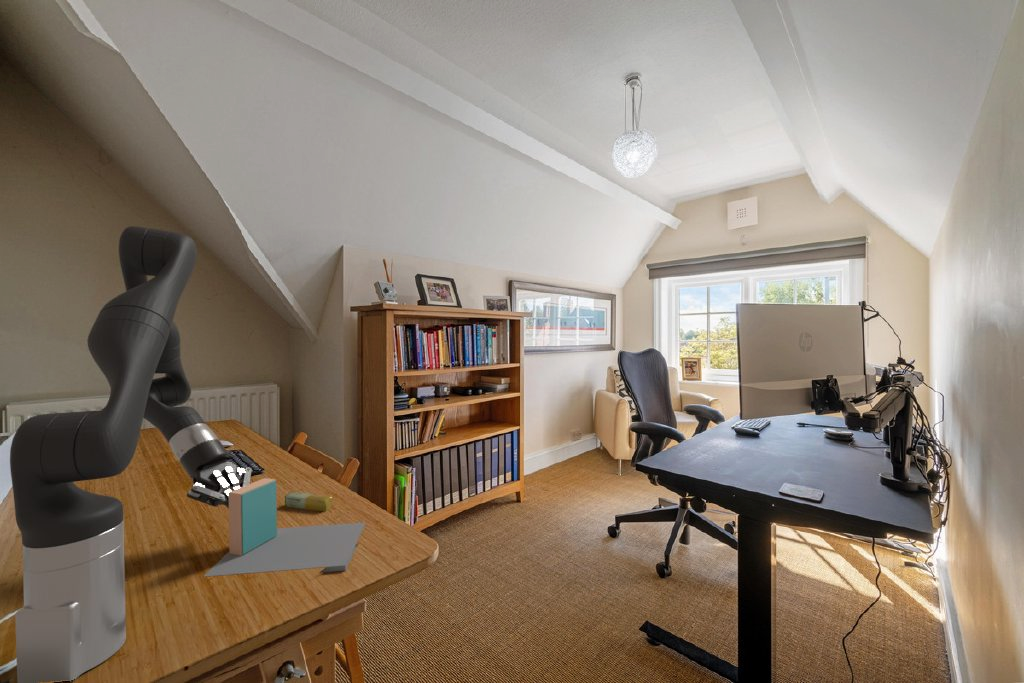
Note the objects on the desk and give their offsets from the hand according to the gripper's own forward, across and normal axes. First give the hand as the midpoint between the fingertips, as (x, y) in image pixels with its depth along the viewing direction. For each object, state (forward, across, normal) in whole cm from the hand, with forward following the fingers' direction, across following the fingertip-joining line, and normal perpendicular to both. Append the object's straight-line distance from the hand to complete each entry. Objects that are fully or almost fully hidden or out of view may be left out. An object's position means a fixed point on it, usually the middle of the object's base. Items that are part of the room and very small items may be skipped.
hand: (244, 514), depth 82 cm
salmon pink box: (+6, 0, +2) cm, 6 cm away
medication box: (+5, +18, +6) cm, 19 cm away
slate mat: (+13, +2, -3) cm, 13 cm away
